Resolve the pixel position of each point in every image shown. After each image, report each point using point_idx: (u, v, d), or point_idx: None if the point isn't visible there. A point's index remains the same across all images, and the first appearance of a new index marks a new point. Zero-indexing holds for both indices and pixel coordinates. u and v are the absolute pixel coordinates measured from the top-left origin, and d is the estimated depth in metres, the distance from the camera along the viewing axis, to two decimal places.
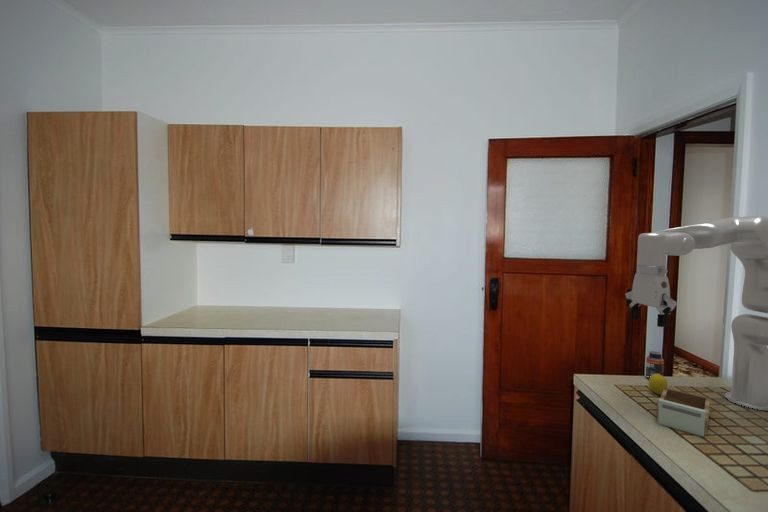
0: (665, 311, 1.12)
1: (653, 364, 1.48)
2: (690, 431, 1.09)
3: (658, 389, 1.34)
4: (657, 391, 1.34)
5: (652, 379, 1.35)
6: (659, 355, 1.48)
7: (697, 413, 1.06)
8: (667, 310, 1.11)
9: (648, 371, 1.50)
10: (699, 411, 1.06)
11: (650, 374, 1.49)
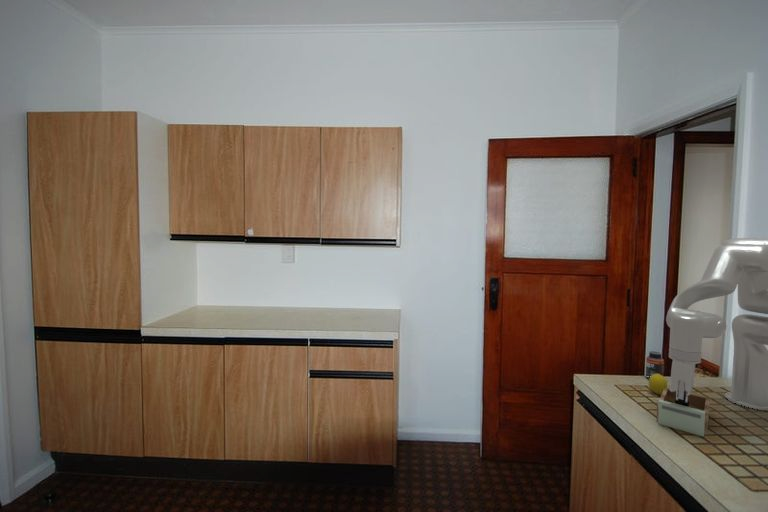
0: None
1: (653, 364, 1.48)
2: (690, 431, 1.08)
3: (658, 389, 1.34)
4: (657, 391, 1.34)
5: (652, 379, 1.35)
6: (659, 355, 1.48)
7: (697, 414, 1.06)
8: None
9: (648, 371, 1.50)
10: (699, 412, 1.06)
11: (650, 374, 1.49)
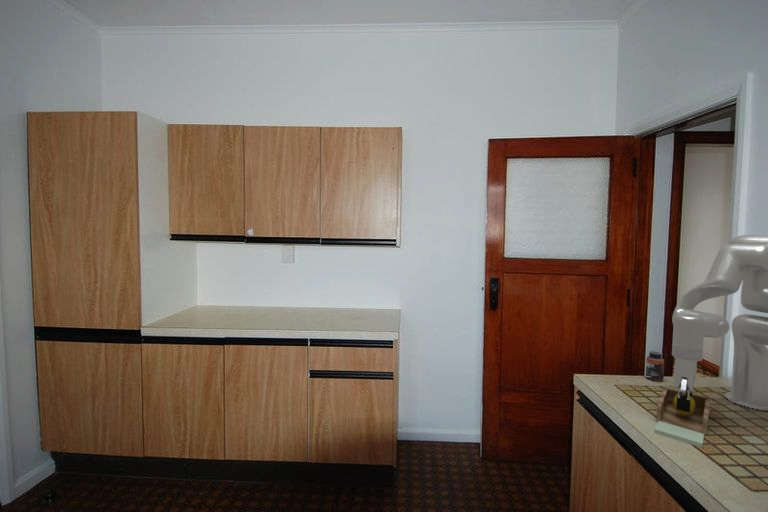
0: None
1: (653, 364, 1.48)
2: None
3: None
4: (683, 413, 1.16)
5: None
6: (659, 355, 1.48)
7: (694, 444, 1.03)
8: None
9: (648, 371, 1.50)
10: (696, 445, 1.02)
11: (650, 374, 1.49)
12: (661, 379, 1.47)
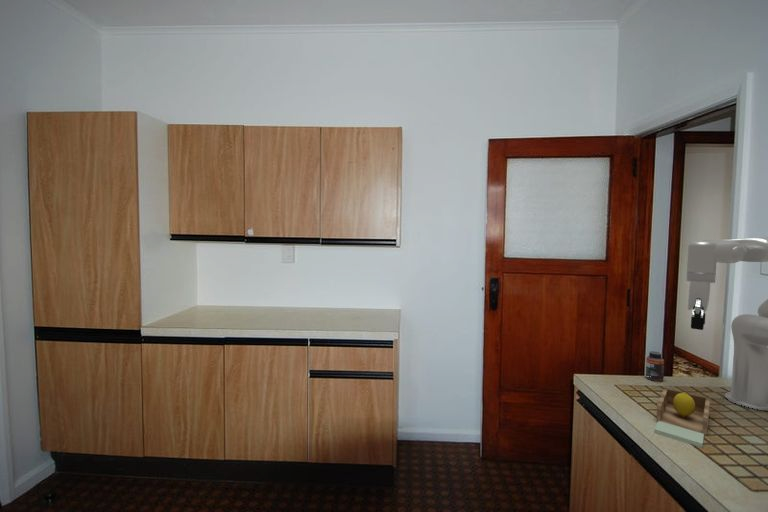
0: None
1: (653, 364, 1.48)
2: None
3: (684, 411, 1.16)
4: (683, 413, 1.16)
5: (678, 399, 1.17)
6: (659, 355, 1.48)
7: (694, 444, 1.03)
8: None
9: (648, 371, 1.50)
10: (696, 445, 1.02)
11: (650, 374, 1.49)
12: (661, 379, 1.47)
